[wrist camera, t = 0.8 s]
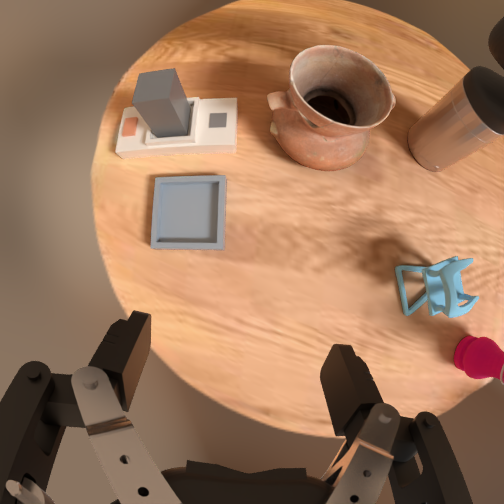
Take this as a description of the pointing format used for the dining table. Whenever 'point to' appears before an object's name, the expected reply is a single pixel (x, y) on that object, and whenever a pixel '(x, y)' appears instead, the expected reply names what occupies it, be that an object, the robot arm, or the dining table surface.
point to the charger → (162, 103)
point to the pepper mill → (480, 358)
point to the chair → (439, 288)
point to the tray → (189, 213)
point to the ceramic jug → (329, 107)
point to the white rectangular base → (197, 142)
